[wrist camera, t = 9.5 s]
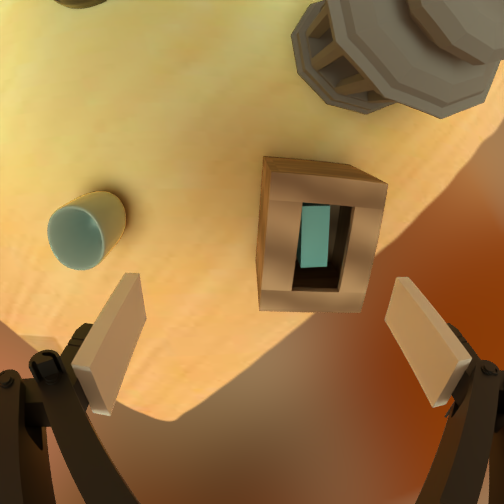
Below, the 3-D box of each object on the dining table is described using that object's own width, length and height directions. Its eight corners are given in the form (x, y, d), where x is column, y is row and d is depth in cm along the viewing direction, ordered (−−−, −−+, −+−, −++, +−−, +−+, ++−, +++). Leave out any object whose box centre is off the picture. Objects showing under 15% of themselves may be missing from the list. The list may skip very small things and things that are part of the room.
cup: (127, 180, 39) (95, 199, 30) (138, 236, 42) (112, 268, 33) (78, 189, 39) (39, 211, 30) (90, 242, 42) (57, 273, 33)
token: (292, 191, 39) (301, 206, 33) (316, 190, 39) (330, 205, 33) (292, 243, 42) (300, 267, 35) (314, 243, 42) (326, 266, 35)
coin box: (263, 156, 38) (271, 172, 27) (351, 164, 38) (390, 184, 27) (255, 261, 44) (259, 310, 33) (335, 264, 44) (362, 312, 33)
